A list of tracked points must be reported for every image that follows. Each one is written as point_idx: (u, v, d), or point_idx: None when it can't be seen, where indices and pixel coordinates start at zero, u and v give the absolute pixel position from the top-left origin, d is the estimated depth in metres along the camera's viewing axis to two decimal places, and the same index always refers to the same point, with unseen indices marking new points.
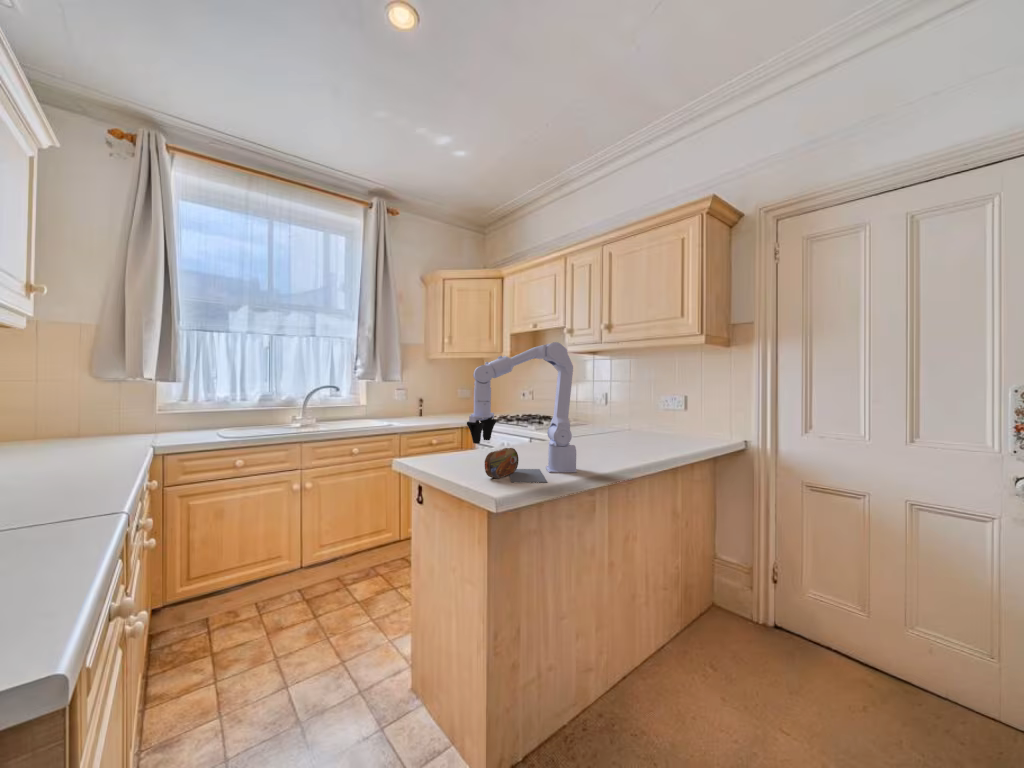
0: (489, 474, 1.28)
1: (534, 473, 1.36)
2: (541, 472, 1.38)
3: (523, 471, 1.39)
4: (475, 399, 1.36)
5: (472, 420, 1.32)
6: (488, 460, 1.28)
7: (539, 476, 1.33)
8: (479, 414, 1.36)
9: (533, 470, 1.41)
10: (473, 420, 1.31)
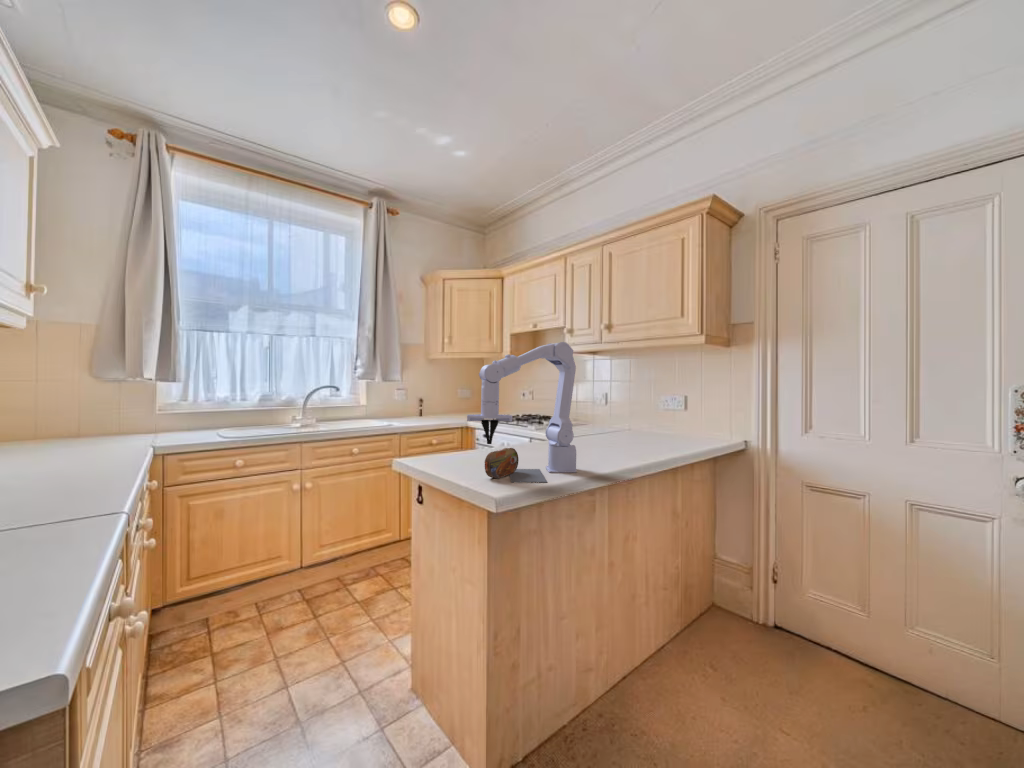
0: (489, 474, 1.28)
1: (534, 473, 1.36)
2: (541, 472, 1.38)
3: (523, 471, 1.39)
4: (484, 399, 1.31)
5: (467, 419, 1.32)
6: (488, 460, 1.28)
7: (539, 476, 1.33)
8: None
9: (533, 470, 1.41)
10: (467, 419, 1.32)
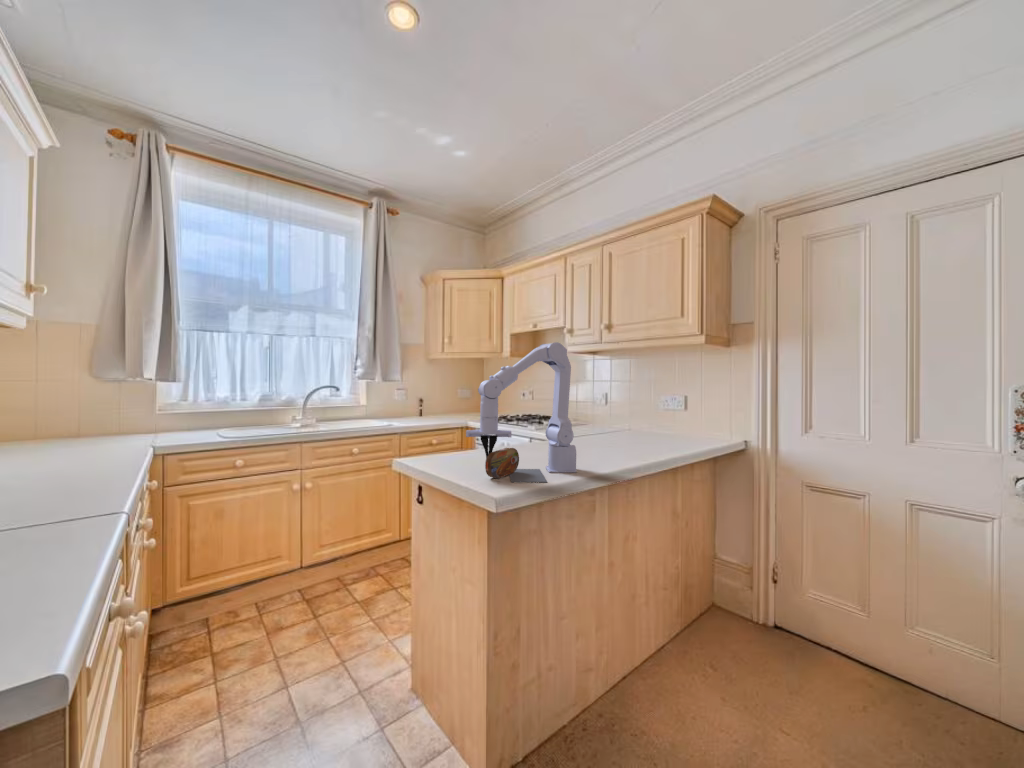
0: (489, 474, 1.28)
1: (534, 473, 1.36)
2: (541, 472, 1.38)
3: (523, 471, 1.39)
4: (483, 415, 1.31)
5: None
6: (489, 460, 1.28)
7: (539, 476, 1.33)
8: (480, 430, 1.32)
9: (533, 470, 1.41)
10: (466, 434, 1.32)
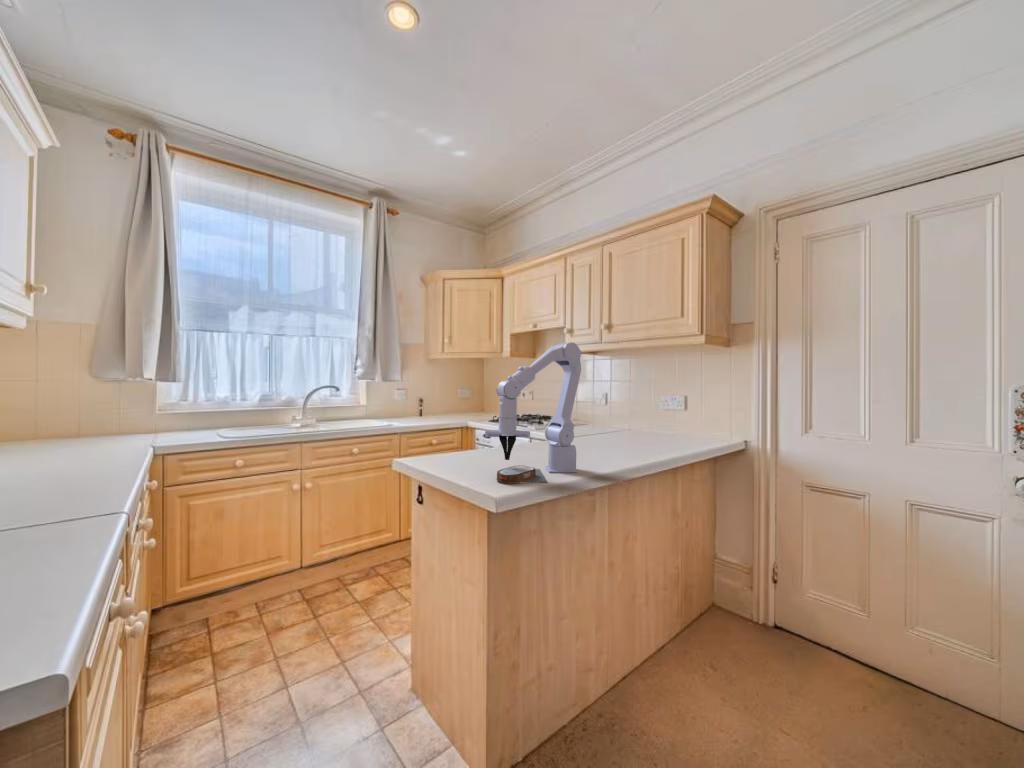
0: (497, 476, 1.26)
1: None
2: (541, 472, 1.38)
3: None
4: (503, 416, 1.31)
5: (485, 435, 1.33)
6: (508, 480, 1.23)
7: (539, 476, 1.33)
8: (498, 430, 1.33)
9: None
10: (485, 435, 1.32)
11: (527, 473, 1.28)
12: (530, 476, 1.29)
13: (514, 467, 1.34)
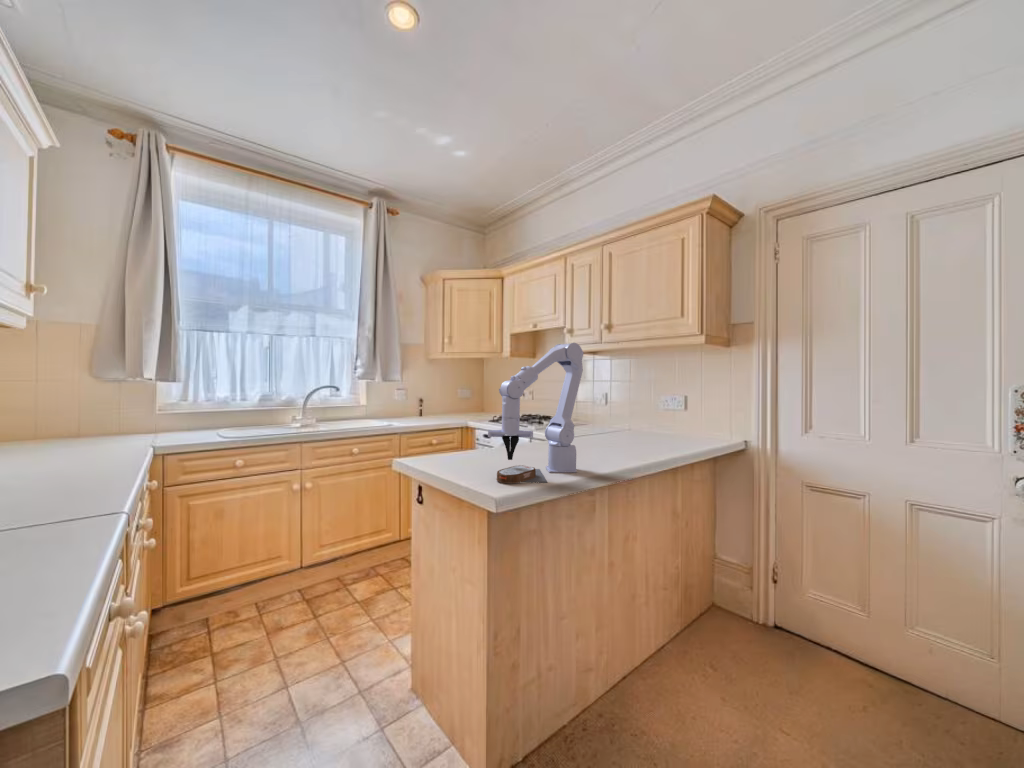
0: (497, 476, 1.26)
1: None
2: (541, 472, 1.38)
3: None
4: (506, 416, 1.31)
5: (488, 435, 1.33)
6: (508, 480, 1.23)
7: (539, 476, 1.33)
8: (501, 430, 1.33)
9: None
10: (488, 435, 1.32)
11: (527, 473, 1.28)
12: (530, 476, 1.29)
13: (514, 467, 1.34)
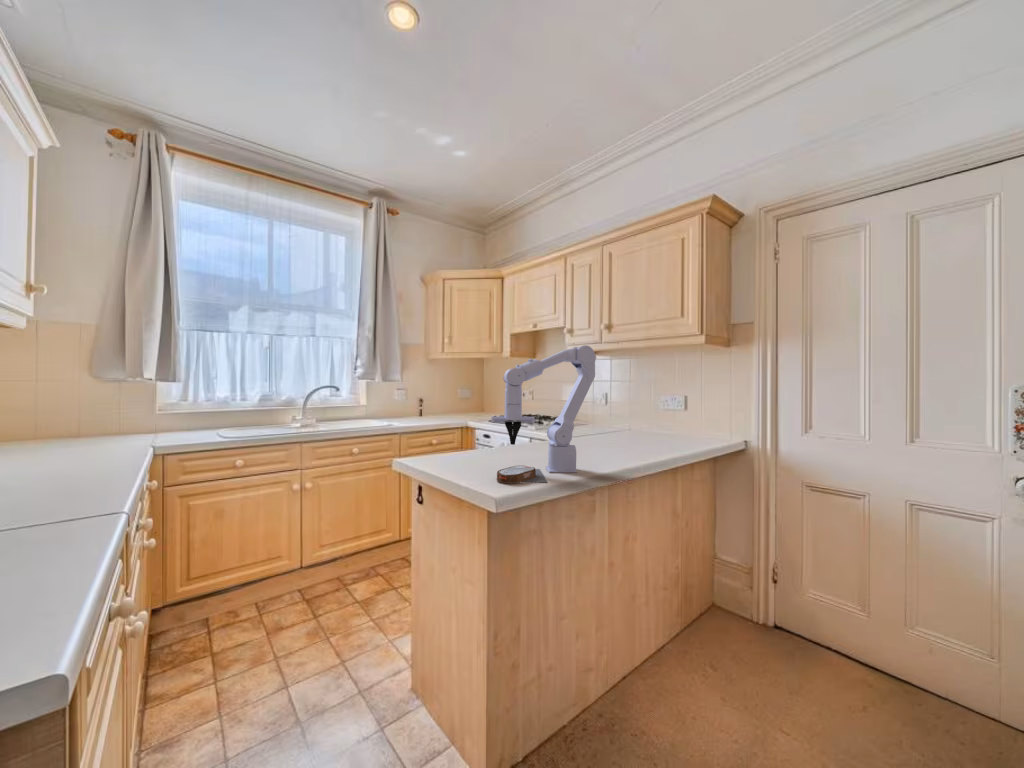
0: (497, 476, 1.26)
1: None
2: (541, 472, 1.38)
3: None
4: (507, 402, 1.37)
5: (491, 421, 1.38)
6: (508, 480, 1.23)
7: (539, 476, 1.33)
8: (504, 416, 1.39)
9: None
10: (491, 420, 1.38)
11: (527, 473, 1.28)
12: (530, 476, 1.29)
13: (514, 467, 1.34)
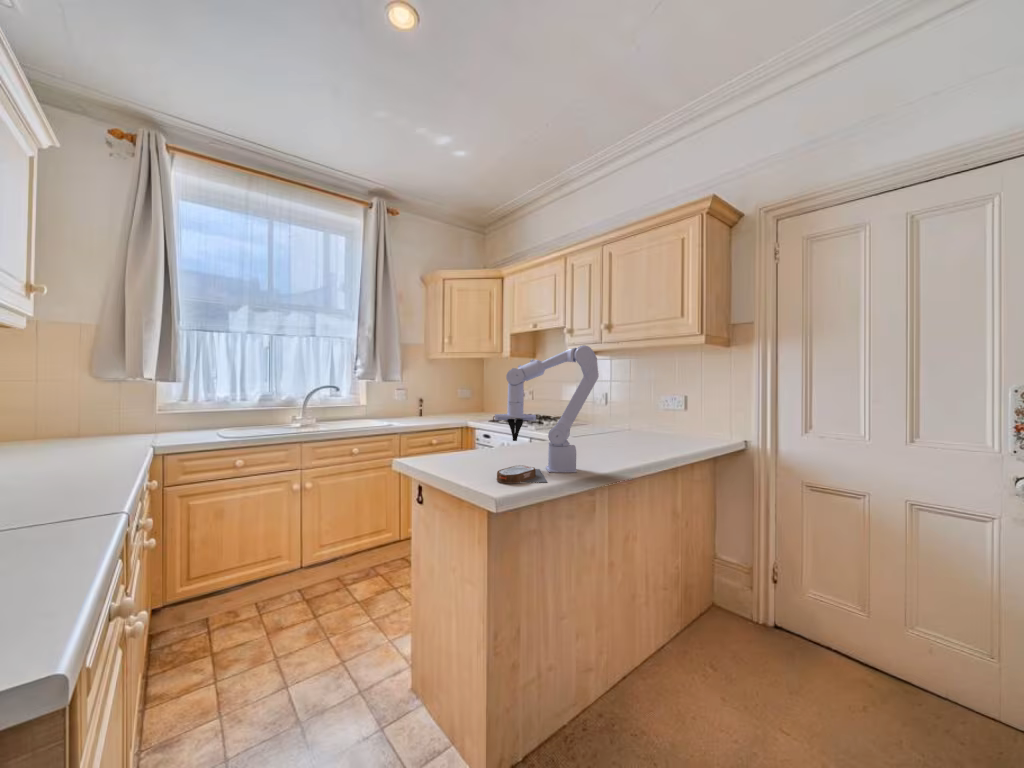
0: (497, 476, 1.26)
1: None
2: (541, 472, 1.38)
3: None
4: None
5: (495, 418, 1.46)
6: (508, 480, 1.23)
7: (539, 476, 1.33)
8: (507, 414, 1.46)
9: None
10: None
11: (527, 473, 1.28)
12: (530, 476, 1.29)
13: (514, 467, 1.34)
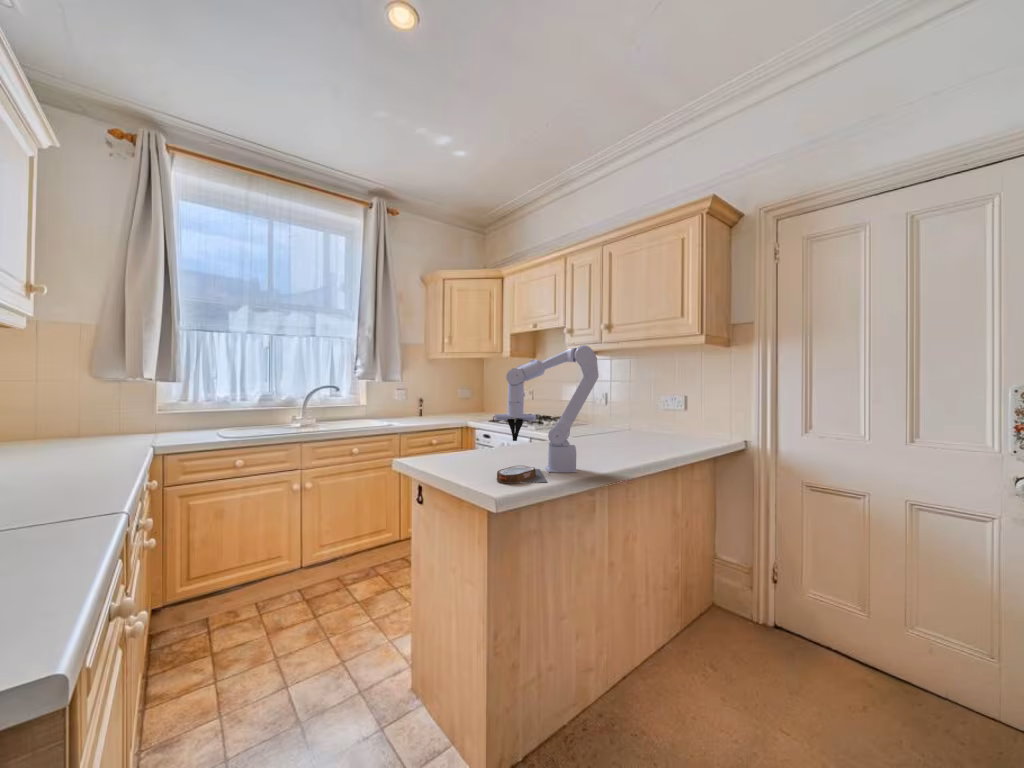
0: (497, 476, 1.26)
1: None
2: (541, 472, 1.38)
3: None
4: None
5: (495, 418, 1.46)
6: (508, 480, 1.23)
7: (539, 476, 1.33)
8: (507, 414, 1.46)
9: None
10: None
11: (527, 473, 1.28)
12: (530, 476, 1.29)
13: (514, 467, 1.34)
